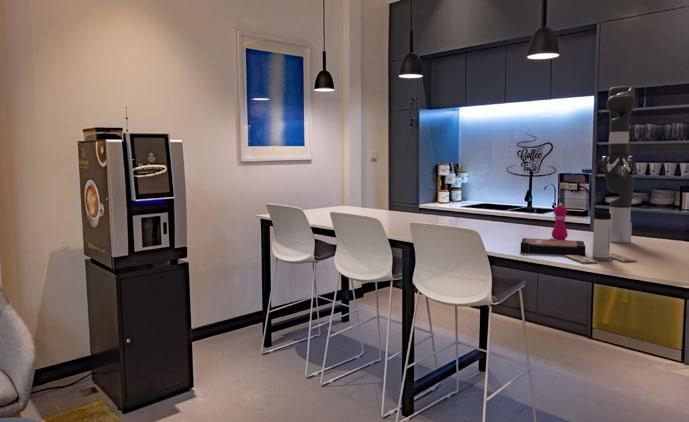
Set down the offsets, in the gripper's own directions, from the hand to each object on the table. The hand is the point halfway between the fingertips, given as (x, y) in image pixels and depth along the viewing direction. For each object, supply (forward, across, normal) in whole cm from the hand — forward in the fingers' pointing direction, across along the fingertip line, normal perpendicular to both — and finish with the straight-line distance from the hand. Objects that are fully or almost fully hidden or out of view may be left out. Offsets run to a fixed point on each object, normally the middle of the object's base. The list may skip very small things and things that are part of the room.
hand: (616, 180), depth 225 cm
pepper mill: (+32, +11, -26) cm, 43 cm away
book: (+33, +24, -8) cm, 42 cm away
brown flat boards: (+32, +14, +12) cm, 37 cm away
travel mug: (+32, +14, +12) cm, 37 cm away
